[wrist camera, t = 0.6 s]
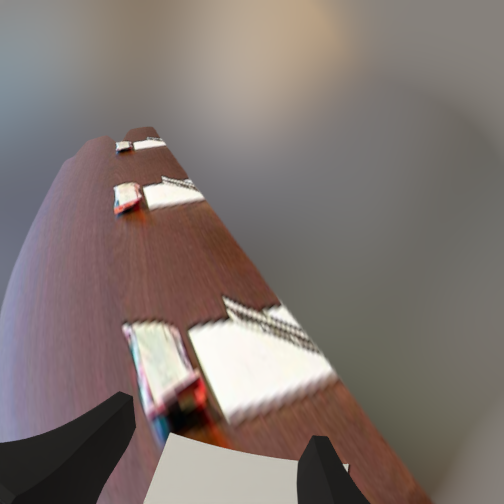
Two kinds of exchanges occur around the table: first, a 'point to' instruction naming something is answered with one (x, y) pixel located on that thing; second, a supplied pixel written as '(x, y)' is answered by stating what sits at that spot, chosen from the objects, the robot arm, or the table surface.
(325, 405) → the table surface
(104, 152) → the table surface
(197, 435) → the table surface
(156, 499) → the grey mat
